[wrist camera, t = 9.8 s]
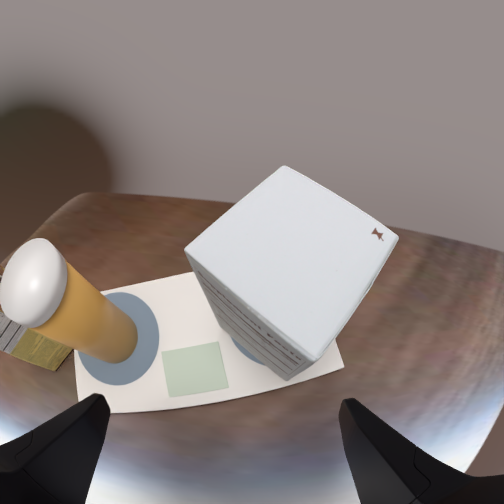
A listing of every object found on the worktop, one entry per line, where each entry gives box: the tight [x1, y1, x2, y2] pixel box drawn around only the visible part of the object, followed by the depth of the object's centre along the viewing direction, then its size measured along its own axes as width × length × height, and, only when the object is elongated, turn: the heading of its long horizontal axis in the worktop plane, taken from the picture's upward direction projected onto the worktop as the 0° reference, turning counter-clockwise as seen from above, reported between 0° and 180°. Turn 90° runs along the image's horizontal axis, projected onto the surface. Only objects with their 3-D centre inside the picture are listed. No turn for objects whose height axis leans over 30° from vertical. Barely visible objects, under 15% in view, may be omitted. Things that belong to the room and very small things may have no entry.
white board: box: [74, 272, 344, 413], centre depth 22 cm, size 12×24×1 cm, turn 104°
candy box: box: [0, 265, 72, 371], centre depth 16 cm, size 9×4×15 cm, turn 54°
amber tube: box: [0, 238, 138, 364], centre depth 16 cm, size 5×5×12 cm
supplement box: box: [184, 166, 399, 381], centre depth 17 cm, size 7×7×13 cm
